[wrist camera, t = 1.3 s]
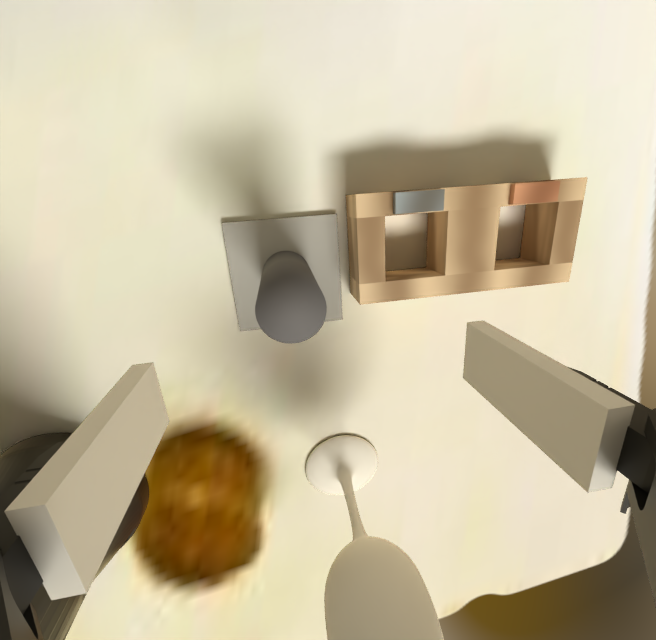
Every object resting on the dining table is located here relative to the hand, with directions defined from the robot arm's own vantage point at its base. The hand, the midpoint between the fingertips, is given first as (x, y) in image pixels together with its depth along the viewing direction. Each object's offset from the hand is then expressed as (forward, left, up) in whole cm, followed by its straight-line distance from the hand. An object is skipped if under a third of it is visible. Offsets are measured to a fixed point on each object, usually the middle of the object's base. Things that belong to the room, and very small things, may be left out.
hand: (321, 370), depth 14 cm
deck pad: (-1, 0, -19) cm, 19 cm away
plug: (-1, +1, -18) cm, 18 cm away
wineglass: (+3, -23, -19) cm, 30 cm away
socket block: (+15, +2, -19) cm, 24 cm away
